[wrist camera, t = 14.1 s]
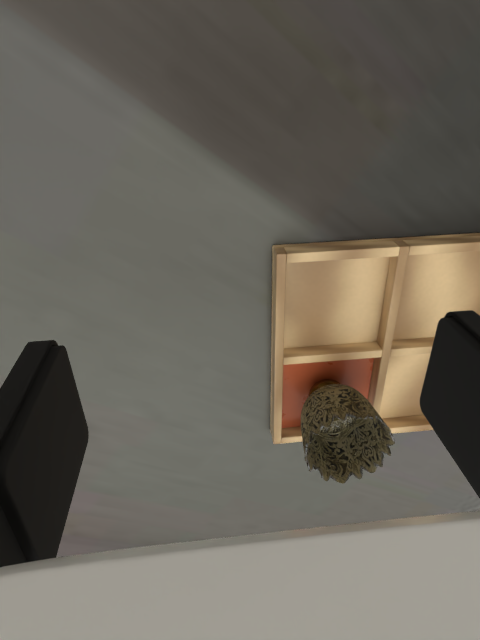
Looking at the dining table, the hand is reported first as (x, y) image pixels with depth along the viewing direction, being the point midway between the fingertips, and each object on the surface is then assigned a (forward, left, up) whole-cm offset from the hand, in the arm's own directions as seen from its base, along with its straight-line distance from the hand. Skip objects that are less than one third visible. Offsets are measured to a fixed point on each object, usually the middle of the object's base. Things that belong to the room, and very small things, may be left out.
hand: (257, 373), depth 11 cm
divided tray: (+15, -16, -24) cm, 32 cm away
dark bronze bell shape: (+10, -21, -24) cm, 33 cm away
